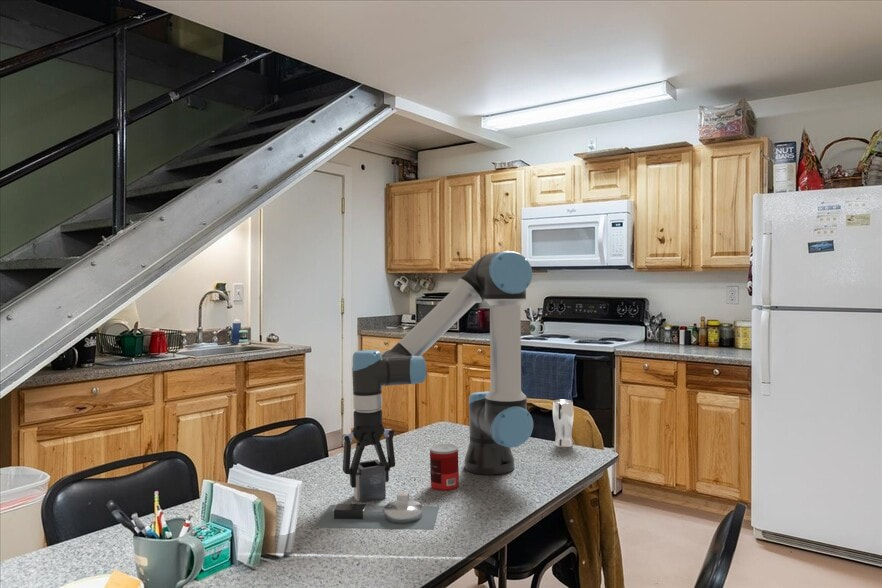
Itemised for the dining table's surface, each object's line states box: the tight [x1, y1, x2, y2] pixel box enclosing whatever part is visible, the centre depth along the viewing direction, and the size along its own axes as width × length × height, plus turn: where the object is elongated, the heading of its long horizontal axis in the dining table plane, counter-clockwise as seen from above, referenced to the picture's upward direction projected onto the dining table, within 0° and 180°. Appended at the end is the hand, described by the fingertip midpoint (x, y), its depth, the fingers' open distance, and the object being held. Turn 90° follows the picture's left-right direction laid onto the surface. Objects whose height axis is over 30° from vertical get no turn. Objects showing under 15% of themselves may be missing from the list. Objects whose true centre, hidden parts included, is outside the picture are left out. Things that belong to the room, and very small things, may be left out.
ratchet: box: [332, 491, 423, 524], centre depth 143 cm, size 22×9×6 cm, turn 85°
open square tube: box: [357, 459, 386, 504], centre depth 156 cm, size 6×6×9 cm
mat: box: [312, 504, 440, 531], centre depth 143 cm, size 28×14×1 cm, turn 84°
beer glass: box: [552, 399, 575, 449], centre depth 202 cm, size 7×7×15 cm
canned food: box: [429, 443, 460, 492], centre depth 163 cm, size 8×8×11 cm
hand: (370, 496), depth 156 cm, fingers closed on open square tube, 6 cm apart
